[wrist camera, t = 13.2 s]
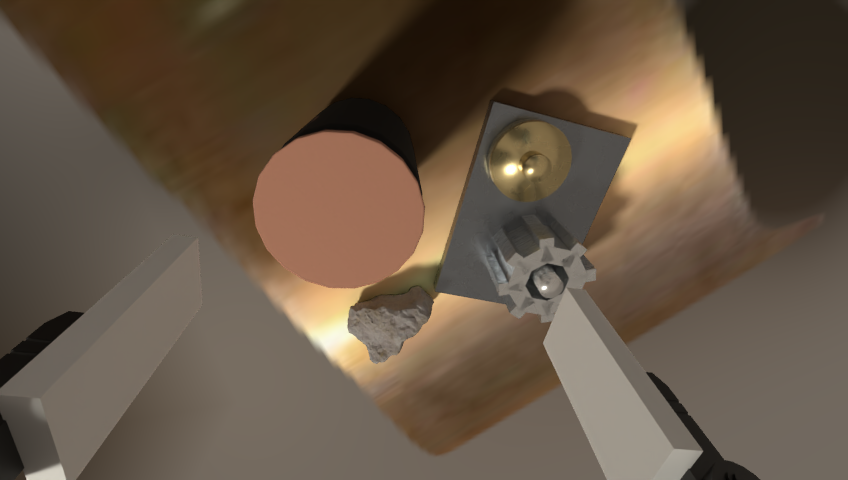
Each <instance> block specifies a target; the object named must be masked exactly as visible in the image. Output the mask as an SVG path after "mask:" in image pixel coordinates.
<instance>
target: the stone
mask: <svg viewBox="0 0 848 480" xmlns="http://www.w3.org/2000/svg"><path fill="white" fill-rule="evenodd" d="M433 303H434V301H433V299H432V298H431V297H430V296H429V295H428V294H427V293H426V292H425V291H424V290H423V289H422V288H421V287H419V286H415V287H412V288H411V289H410V290H409V292H407V293H405V294H401V295H399V294H398V295H379V296H376V297H375V298H373V299H372V300H371V301H366V302H362V303H356V304H355V305H354V306H351V307H350V310H349V318H348V331H349V333H351V334H353V335H354V336H356V337H357V339H358V340H360V341H361V342H363V343H364V344H365V345H366V346H367V349H368V351H369V356H370V360H371V361H372V362H373V363H376V364H377V363H379V362H385V361H386V360H387V359H388V357H390V356H391V355H397V354H398V353H399V352H400V350H401V348H402V346H403V343H404V341H405V340H406V339H408V338H411V337H413V336H415V335H416V334H417V333H418V332H419V330H420V329H421V327H422V325H423V324H425V323H426V322H427V321H428V319H429V318H430V315H431V311H432V305H433Z"/></svg>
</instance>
